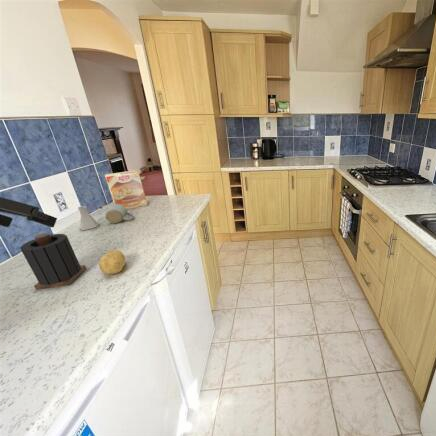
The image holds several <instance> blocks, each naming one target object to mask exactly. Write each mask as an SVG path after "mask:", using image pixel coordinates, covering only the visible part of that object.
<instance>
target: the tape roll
mask: <svg viewBox="0 0 436 436" xmlns="http://www.w3.org/2000/svg"><path fill="white" fill-rule="evenodd" d="M50 237H51V239H52V241H53V242H52V243H50V244H47V245H43V246H38V244H37V242H36V240H35V239H32V240H29V241H26V242H25V243H23V244H22V245H21V246H20V248H19V249H20V252H21V253H22V255H23V256H24V258H25V260H26V262H27V264H28V266H29V267H30V269H31V271H32V274H34V277H35V278H36V280H37V283H38V282H39V283H40V284H42V285H49V284H50V285H51V284H55V283H59V282H60V281H61V282H62V281H65V280H67V279H69V278H71V277H73V276H75V275H76V274H77V273H78V272H80V270H81V266H80V265H81V264H80V261H79V260H78V258H77V256H76V253H75V251H74V249H73V247H72V245H71V242H70V240H69V238H68V236H67V234H65V233H53V234H50Z"/></svg>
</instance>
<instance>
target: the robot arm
mask: <svg viewBox="0 0 436 436" xmlns="http://www.w3.org/2000/svg"><path fill="white" fill-rule="evenodd" d="M1 213H2V214H1ZM4 214H7V215H11V216H17V217H22V218H26V221H28V222H35V223H37V224H41V225H44V226H46V227H49V228H55V226H56V224H57V223H56V222H57V221H58V217H55V216H52V215H50V214H47V213H45V212H42V211H40V207H39V206H35V205H32V204H27V203H24V202H20V201H16V200H13V199H9V198H6V197H2V196H0V226H1V227H4V228H9V227H10V226H11V223H12V222H13V220H14V217H10V216H7V215H4Z"/></svg>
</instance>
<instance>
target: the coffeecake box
mask: <svg viewBox="0 0 436 436" xmlns="http://www.w3.org/2000/svg"><path fill="white" fill-rule="evenodd" d="M104 178H105V181H106V184H107V187H108V190H109V193H110V196H111V199H112V201H113V205H114V204H121V205H123V206H125V207H126V209H127V210H132V209H136V208H140V207H144V206H148V201H147V197H146V194H145V190H144V186H143V183H142V180H141V179H142V178H141V176H140V172H139V171H137V170H136V169H133V170H127V171H122V172H121V171H120V172H114V173H107V174H104Z"/></svg>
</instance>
